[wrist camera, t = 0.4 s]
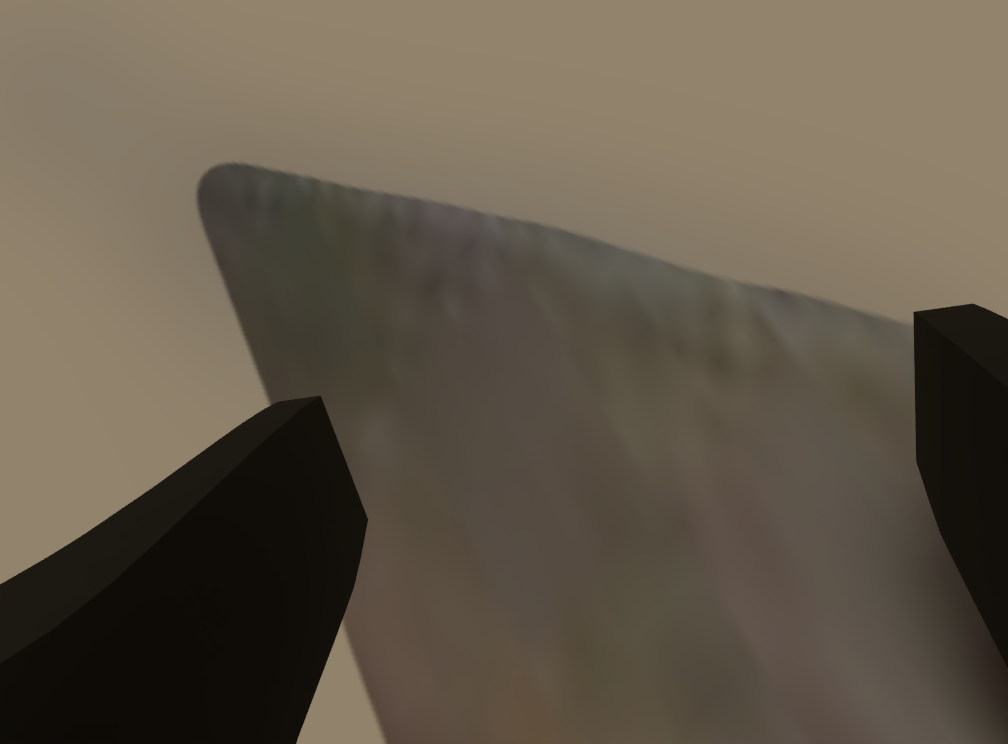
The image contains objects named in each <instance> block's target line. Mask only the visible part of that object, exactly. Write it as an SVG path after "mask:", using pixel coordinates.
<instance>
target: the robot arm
mask: <svg viewBox="0 0 1008 744" xmlns="http://www.w3.org/2000/svg"><path fill="white" fill-rule="evenodd" d="M914 362H915V417H916V462H917V465H918V468H919V471H920V474H921V477H922V480H923V483H924V486H925V490H926V493H927V496H928V499H929V502H930V505H931V508H932V510H933V513H934V516H935V519H936V522H937V525H938V528H939V531H940V533H941V536H942V538H943V540H944V542H945V544H946V546H947V548H948V550H949V552H950V554H951V556H952V558H953V560H954V562H955V564H956V566H957V568H958V570H959V572H960V574H961V576H962V578H963V580H964V582H965V584H966V586H967V588H968V590H969V592H970V594H971V596H972V598H973V600H974V602H975V604H976V606H977V608H978V610H979V612H980V614H981V616H982V618H983V620H984V622H985V624H986V626H987V628H988V630H989V632H990V634H991V636H992V638H993V640H994V642H995V644H996V646H997V647H998V649H999V651H1000V653H1001V655H1002V657H1003V659H1004V661H1005V663H1006V665H1007V667H1008V319H1007V318H1004V317H1002V316H1000V315H998V314H996V313H994V312H992V311H990V310H987V309H985V308H983V307H980V306H978V305H975V304H967V305H960V306H953V307H946V308H939V309H932V310H924V311H917V312H914ZM367 522H368V518H367V516H366V513H365V510H364V508H363V505H362V503H361V500H360V497H359V495H358V492H357V489H356V487H355V484H354V482H353V479H352V476H351V474H350V471H349V469H348V466H347V463H346V461H345V458H344V455H343V453H342V450H341V448H340V445H339V442H338V440H337V437H336V435H335V432H334V429H333V427H332V424H331V421H330V419H329V416H328V414H327V411H326V408H325V406H324V403H323V401H322V398H321V396H315V397H308V398H301V399H294V400H287V401H280V402H277V403H275V404H273V405H271V406H269V407H267V408H265V409H264V410H262V411H261V412H259V413H257V414H256V415H254V416H253V417H251V418H250V419H248V420H246V421H245V422H243V423H242V424H241V425H239V426H238V427H236V428H235V429H233V430H232V431H230V432H229V433H228V434H226V435H225V436H224V437H222V438H221V439H219V440H218V441H216V442H215V443H214V444H212V445H211V446H210V447H208V448H207V449H205V450H204V451H203V452H201V453H200V454H199V455H197V456H196V457H194V458H193V459H192V460H190V461H189V462H187V463H186V464H185V465H183V466H182V467H181V468H179V469H178V470H176V471H175V472H174V473H172V474H171V475H170V476H168V477H167V478H165V479H164V480H163V481H161V482H160V483H159V484H157V485H156V486H154V487H153V488H152V489H150V490H149V491H147V492H146V493H144V494H143V495H142V496H140V497H138V498H137V499H135V500H134V501H133V502H131V503H130V504H128V505H127V506H125V507H124V508H122V509H121V510H119V511H118V512H116V513H115V514H113V515H112V516H111V517H109V518H108V519H106V520H105V521H103V522H102V523H100V524H99V525H97V526H96V527H94V528H93V529H92V530H90V531H88V532H87V533H86V534H84V535H82V536H81V537H79V538H78V539H76V540H75V541H73V542H71V543H70V544H68V545H67V546H65V547H63V548H62V549H60V550H59V551H57V552H55V553H54V554H52V555H50V556H49V557H47V558H45V559H44V560H42V561H40V562H39V563H37V564H35V565H33V566H32V567H30V568H28V569H26V570H25V571H23V572H21V573H19V574H18V575H16V576H14V577H12V578H11V579H9V580H7V581H6V582H4V583H2V584H0V744H296V742H297V739H298V736H299V734H300V731H301V728H302V725H303V723H304V720H305V718H306V715H307V712H308V709H309V707H310V704H311V702H312V699H313V696H314V694H315V691H316V689H317V686H318V683H319V680H320V678H321V675H322V673H323V670H324V667H325V665H326V662H327V659H328V657H329V654H330V651H331V649H332V646H333V644H334V641H335V638H336V635H337V633H338V630H339V627H340V624H341V622H342V619H343V616H344V614H345V611H346V608H347V605H348V603H349V600H350V597H351V594H352V591H353V588H354V585H355V580H356V576H357V572H358V567H359V563H360V559H361V554H362V549H363V543H364V538H365V533H366V527H367Z"/></svg>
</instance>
